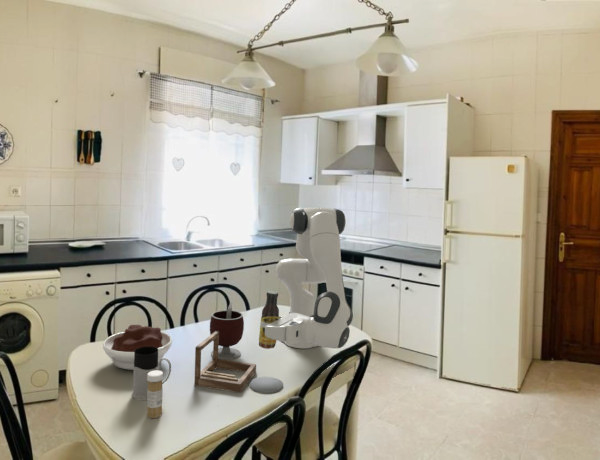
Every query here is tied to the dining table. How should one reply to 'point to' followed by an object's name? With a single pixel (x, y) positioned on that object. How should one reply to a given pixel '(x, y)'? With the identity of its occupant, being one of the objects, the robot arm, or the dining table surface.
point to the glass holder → (145, 370)
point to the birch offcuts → (220, 376)
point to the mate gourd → (227, 332)
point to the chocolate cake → (135, 344)
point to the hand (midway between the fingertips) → (267, 321)
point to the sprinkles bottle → (154, 394)
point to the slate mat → (266, 384)
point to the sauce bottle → (269, 319)
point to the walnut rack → (222, 364)
